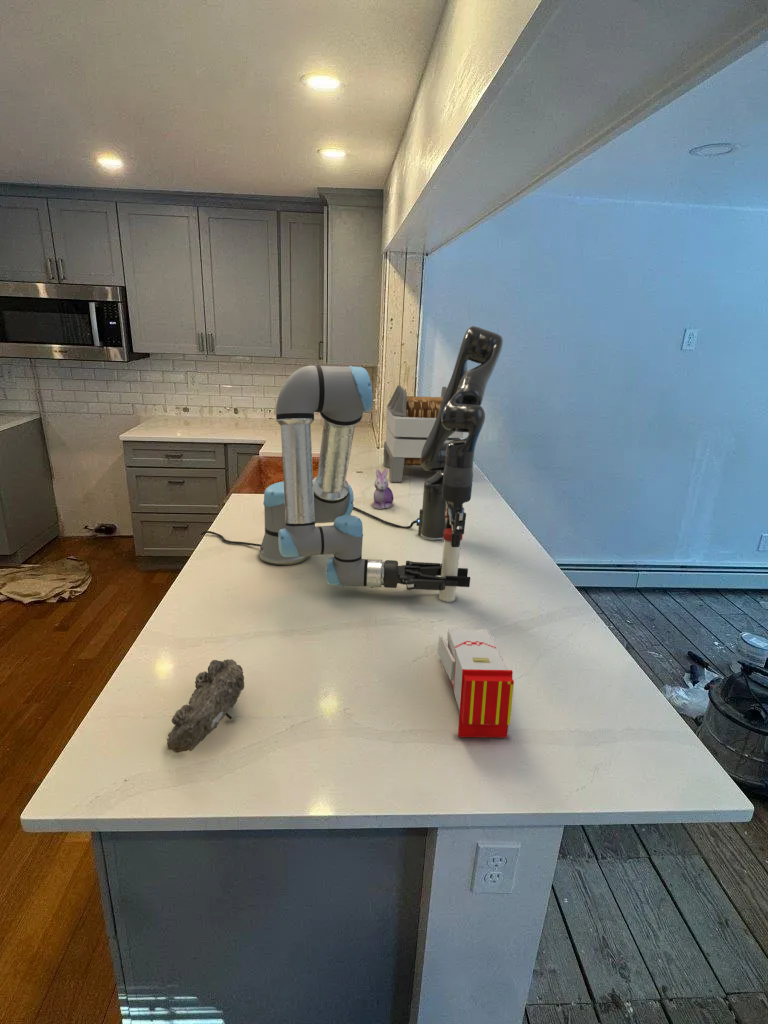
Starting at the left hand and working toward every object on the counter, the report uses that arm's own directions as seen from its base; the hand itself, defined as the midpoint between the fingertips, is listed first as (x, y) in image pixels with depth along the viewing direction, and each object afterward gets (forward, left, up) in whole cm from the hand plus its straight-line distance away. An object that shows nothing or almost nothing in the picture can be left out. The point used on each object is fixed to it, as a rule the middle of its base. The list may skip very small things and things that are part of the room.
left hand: (468, 577), depth 155 cm
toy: (+13, -39, -6) cm, 42 cm away
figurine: (-54, +57, -6) cm, 79 cm away
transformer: (-60, +110, -6) cm, 126 cm away
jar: (-5, -2, -6) cm, 8 cm away
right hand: (-5, -2, +10) cm, 12 cm away
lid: (-5, -2, +13) cm, 14 cm away
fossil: (-28, -70, -6) cm, 76 cm away
